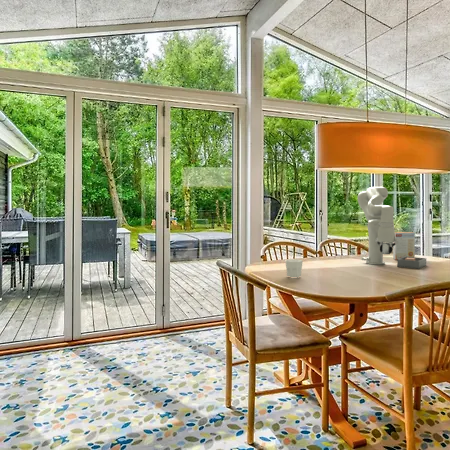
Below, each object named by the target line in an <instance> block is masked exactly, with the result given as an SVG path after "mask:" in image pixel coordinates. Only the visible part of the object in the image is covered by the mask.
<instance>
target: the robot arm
mask: <svg viewBox="0 0 450 450" xmlns="http://www.w3.org/2000/svg"><path fill="white" fill-rule="evenodd" d="M388 196H389V190H388V189H387V188H386V187H384V186H372V187H368V188H367V189H366V191H365V190H364V191H361V192H359V193H358V195H357V203H358V205H359V207H360V209H362V211H363V213H364V216H365V219H366V220H367V232H368V255H367V257H361V260H362V261H365V263H366V264H369V265H377V266H378V265H379V266H381V265H385V264H386V261H384V259H383V258H384V256H383V255H384V254H382V243H390V247H389V253H390V254H393V246H394V245H395V244H397V243H398V241H397V239H396V238H395V232H396V230H395V223H394V214H395V213H394V211H395V209H394V207H393V205H392V206H391V205H385V204H383V202H384V200H386V199H387V197H388ZM381 204H382V205H381ZM393 242H395V243H393Z"/></svg>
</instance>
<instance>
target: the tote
mask: <svg viewBox="0 0 450 450" xmlns="http://www.w3.org/2000/svg"><path fill="white" fill-rule="evenodd" d="M405 258H415V261H412V260H405ZM396 263H397V264H396V265H397V267H398V268H407V269H414V270H415V269H417V270H420V269H422V268H424V267H426V266H427V258H426V257H417V256H415V257H403V258H400V259H397V260H396Z"/></svg>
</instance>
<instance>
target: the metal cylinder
mask: <svg viewBox="0 0 450 450" xmlns="http://www.w3.org/2000/svg"><path fill="white" fill-rule="evenodd" d="M389 247H390V243H387V242H383V243H382V254H383V255H390V254H391V253H389Z"/></svg>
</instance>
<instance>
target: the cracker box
mask: <svg viewBox="0 0 450 450" xmlns="http://www.w3.org/2000/svg"><path fill="white" fill-rule="evenodd" d="M395 238H396V239H397V241H398V243H397V244H395V245H394V246H393V252H392V254H393V255H392V257H393V258H392V259H393V260H395V261H397V259H400V258H403V257H416V256H415V254H416V253H415V249H416V248H415V246H416V241H415V239H416V232H413V231H409V232H408V231H397V232H396V231H395ZM393 243H395V242H393Z"/></svg>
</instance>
